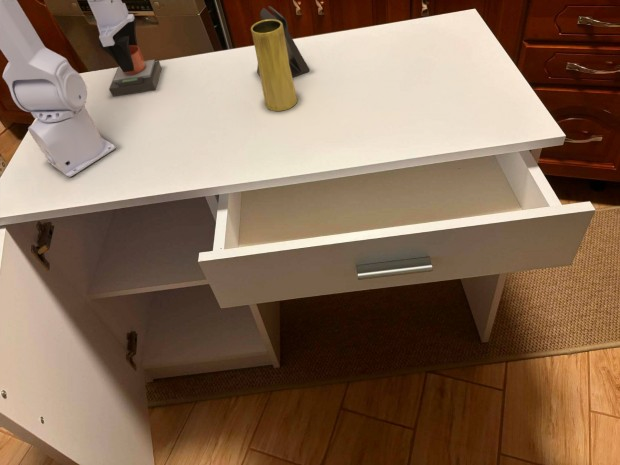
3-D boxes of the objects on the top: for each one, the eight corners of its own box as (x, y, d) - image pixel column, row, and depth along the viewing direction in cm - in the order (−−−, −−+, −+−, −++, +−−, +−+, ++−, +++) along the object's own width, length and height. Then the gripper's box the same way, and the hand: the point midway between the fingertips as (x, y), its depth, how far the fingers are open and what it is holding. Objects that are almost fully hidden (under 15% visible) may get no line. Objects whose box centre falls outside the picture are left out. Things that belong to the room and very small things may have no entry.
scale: (112, 96, 97) (107, 85, 95) (121, 74, 103) (116, 63, 102) (155, 90, 97) (151, 78, 95) (161, 68, 103) (157, 56, 101)
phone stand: (268, 86, 92) (255, 25, 84) (257, 73, 96) (243, 14, 87) (309, 71, 94) (301, 10, 85) (297, 59, 98) (288, -1, 89)
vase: (293, 111, 85) (279, 34, 75) (261, 111, 87) (243, 35, 76) (300, 92, 89) (288, 16, 79) (269, 93, 91) (253, 18, 80)
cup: (131, 78, 97) (123, 59, 94) (118, 71, 99) (109, 53, 96) (151, 66, 99) (144, 48, 96) (137, 61, 101) (130, 42, 99)
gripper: (115, 8, 83) (144, 78, 93) (130, -23, 93) (155, 44, 103) (75, 14, 83) (109, 84, 93) (95, -17, 93) (124, 49, 103)
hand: (131, 63), depth 98 cm, fingers open, 5 cm apart
